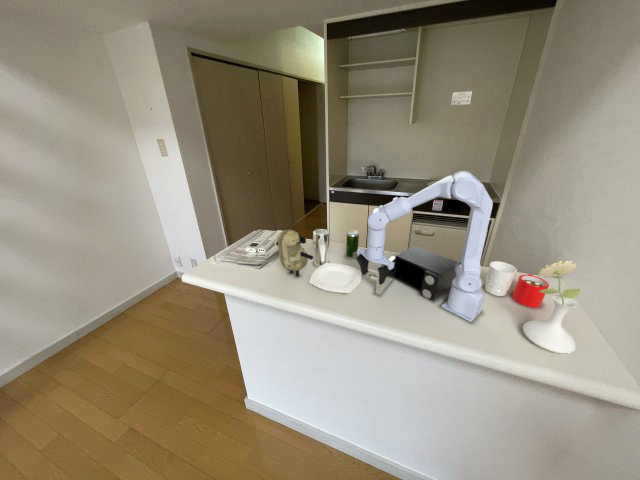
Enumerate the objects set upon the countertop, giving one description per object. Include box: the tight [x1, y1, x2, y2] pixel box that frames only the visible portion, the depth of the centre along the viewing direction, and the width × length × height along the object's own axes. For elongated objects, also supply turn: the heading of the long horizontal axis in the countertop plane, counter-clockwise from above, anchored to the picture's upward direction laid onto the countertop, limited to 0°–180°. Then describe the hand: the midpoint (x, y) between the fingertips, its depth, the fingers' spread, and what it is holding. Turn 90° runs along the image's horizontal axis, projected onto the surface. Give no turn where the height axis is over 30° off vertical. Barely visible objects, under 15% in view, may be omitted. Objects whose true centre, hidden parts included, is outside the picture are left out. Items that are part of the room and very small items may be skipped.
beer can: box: [345, 229, 360, 260], centre depth 115 cm, size 5×5×12 cm
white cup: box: [484, 260, 518, 297], centre depth 91 cm, size 8×8×10 cm
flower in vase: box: [522, 260, 581, 354], centre depth 67 cm, size 13×11×25 cm
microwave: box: [393, 245, 459, 302], centre depth 96 cm, size 15×18×10 cm
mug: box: [511, 273, 550, 308], centre depth 88 cm, size 8×12×8 cm, turn 152°
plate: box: [308, 262, 363, 294], centre depth 99 cm, size 19×19×2 cm
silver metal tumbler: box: [312, 228, 330, 268], centre depth 109 cm, size 7×7×15 cm
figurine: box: [275, 229, 314, 278], centre depth 100 cm, size 19×12×20 cm, turn 49°
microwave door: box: [366, 255, 396, 296], centre depth 95 cm, size 7×13×10 cm, turn 144°
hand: (372, 278), depth 91 cm, fingers open, 7 cm apart
